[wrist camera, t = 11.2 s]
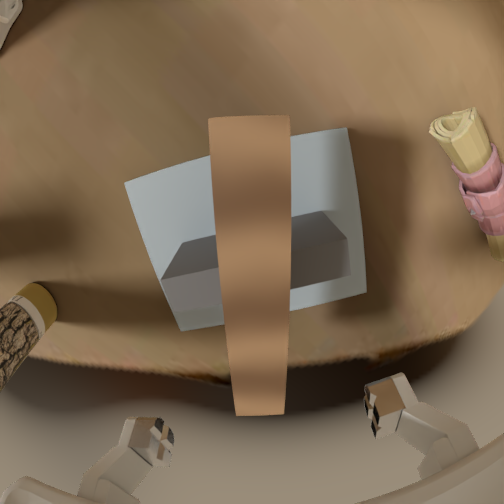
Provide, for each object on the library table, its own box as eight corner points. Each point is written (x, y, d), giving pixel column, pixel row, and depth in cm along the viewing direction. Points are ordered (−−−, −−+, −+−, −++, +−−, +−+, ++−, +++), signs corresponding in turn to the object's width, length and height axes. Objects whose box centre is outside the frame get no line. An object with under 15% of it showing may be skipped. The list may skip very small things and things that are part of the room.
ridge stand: (182, 325, 33) (166, 379, 25) (128, 180, 27) (82, 201, 18) (363, 287, 32) (394, 334, 23) (342, 127, 25) (383, 125, 16)
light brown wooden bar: (216, 122, 17) (208, 118, 13) (280, 120, 17) (289, 115, 13) (237, 382, 25) (236, 415, 21) (280, 381, 25) (283, 413, 21)
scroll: (411, 144, 24) (475, 268, 30) (469, 129, 17) (519, 274, 22) (431, 110, 25) (489, 228, 31) (480, 94, 18) (529, 229, 24)
